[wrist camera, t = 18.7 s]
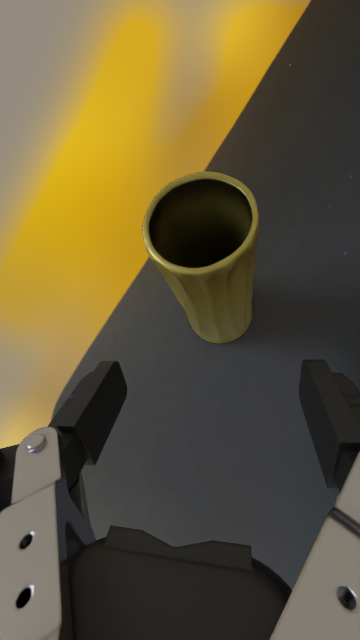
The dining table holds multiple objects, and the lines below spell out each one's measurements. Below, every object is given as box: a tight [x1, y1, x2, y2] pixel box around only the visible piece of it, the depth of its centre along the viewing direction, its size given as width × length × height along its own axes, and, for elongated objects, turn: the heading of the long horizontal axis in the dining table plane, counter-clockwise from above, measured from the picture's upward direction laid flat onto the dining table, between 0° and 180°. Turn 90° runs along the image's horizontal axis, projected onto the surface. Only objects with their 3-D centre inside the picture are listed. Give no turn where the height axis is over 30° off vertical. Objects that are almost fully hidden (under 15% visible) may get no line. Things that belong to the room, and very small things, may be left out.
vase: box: [142, 172, 259, 343], centre depth 18 cm, size 6×6×14 cm
